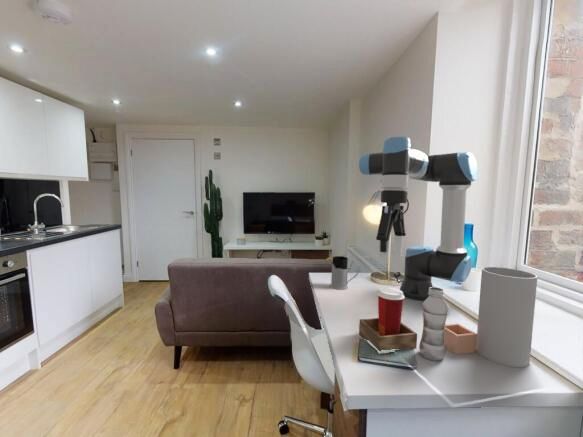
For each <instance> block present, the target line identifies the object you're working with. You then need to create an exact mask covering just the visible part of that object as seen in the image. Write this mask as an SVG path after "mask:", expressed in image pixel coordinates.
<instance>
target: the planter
mask: <svg viewBox="0 0 583 437" xmlns="http://www.w3.org/2000/svg"><path fill="white" fill-rule="evenodd" d="M444 329H445V330H444V345H445V349H448V350H449V351H451V352H452V353H454V354H455V355H462V354H470V353H476V352H477V349H476V346H477V332H475V331H473V330H471V329H469V328H467V327H466V326H463V325H461V324H460V323H451V324H445V328H444Z"/></svg>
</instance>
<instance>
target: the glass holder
mask: <svg viewBox="0 0 583 437" xmlns="http://www.w3.org/2000/svg"><path fill="white" fill-rule="evenodd" d="M348 262H349V260H348V257H346V256H341V255H340V256H332V261H331V279H330V285H329V286H330V288H331V289H334V290H337V291H338V290H339V291H341V290H343V291H344V290H347V289H348V288H349V286H348V284H349V282H351V281H352V280H353V279H355V278H356V277H357V276H358V275H359V272H360V267H361V265H360V262H359V261H356V260H354V261H352V262H351V263H350V268H348ZM354 263H358V269H357V270H358V271H357V273H356V274H355V275H354V276H353V277H351V278H350V279H348V270H351V269H352V267H353V266H352V265H353V264H354Z"/></svg>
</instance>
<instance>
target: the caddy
mask: <svg viewBox="0 0 583 437" xmlns="http://www.w3.org/2000/svg"><path fill="white" fill-rule="evenodd" d="M358 326H359V327H358V334H359V336H360V337H361V338H362V339H363V340H364V339H366V340H369V341H370V342H371V343H372V344H373V345H374V346H375V347H376V348H377V349H378V350H379V351H381V350H391V349H405V348H413V349H417V345H418V344H417V341H418V333H417V332H416V331H414V330H412V329H411V328H410V327H408V326H407V325H406V324H404V323H403V322H401V323H400V331H399V334H398V335H388V336H380V335H379V322H378V317H375V318H374V317H372V318H360V319H359V323H358ZM405 350H406V349H405Z"/></svg>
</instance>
